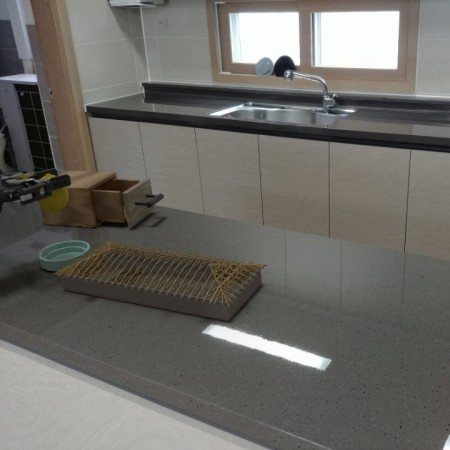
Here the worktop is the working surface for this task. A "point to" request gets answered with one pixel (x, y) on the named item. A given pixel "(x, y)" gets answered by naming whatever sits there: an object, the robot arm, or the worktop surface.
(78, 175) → the cabinet
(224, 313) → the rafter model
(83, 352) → the worktop surface
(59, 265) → the bowl
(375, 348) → the worktop surface
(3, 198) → the robot arm
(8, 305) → the worktop surface
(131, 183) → the drawer
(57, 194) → the lemon
